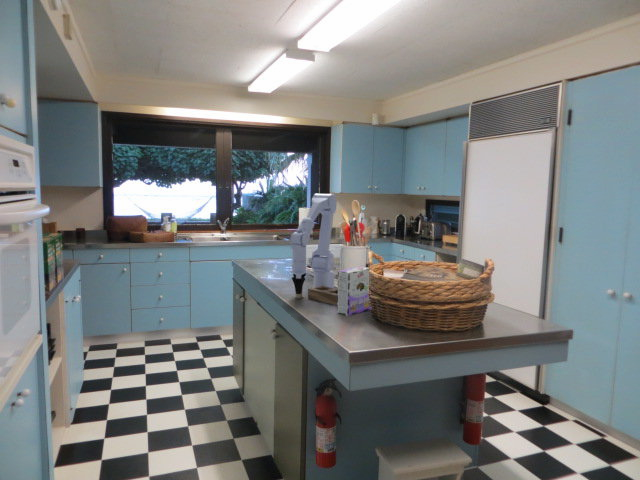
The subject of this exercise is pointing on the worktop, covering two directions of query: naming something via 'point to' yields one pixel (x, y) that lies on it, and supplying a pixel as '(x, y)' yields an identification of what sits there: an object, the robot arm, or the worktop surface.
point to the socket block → (324, 294)
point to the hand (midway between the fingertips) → (298, 291)
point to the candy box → (353, 291)
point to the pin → (298, 295)
